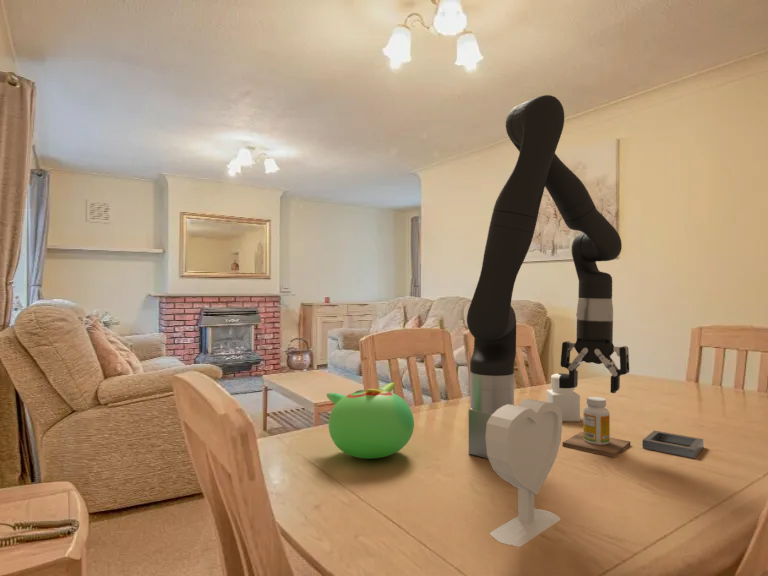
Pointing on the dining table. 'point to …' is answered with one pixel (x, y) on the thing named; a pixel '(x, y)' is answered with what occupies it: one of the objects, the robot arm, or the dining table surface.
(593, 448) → the coaster
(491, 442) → the heart sculpture
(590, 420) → the supplement bottle
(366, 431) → the green rounded blob
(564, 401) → the medicine bottle
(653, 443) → the square frame
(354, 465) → the dining table surface
